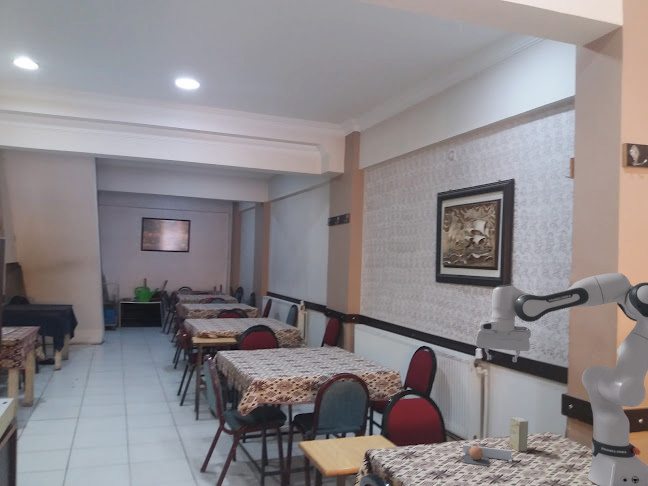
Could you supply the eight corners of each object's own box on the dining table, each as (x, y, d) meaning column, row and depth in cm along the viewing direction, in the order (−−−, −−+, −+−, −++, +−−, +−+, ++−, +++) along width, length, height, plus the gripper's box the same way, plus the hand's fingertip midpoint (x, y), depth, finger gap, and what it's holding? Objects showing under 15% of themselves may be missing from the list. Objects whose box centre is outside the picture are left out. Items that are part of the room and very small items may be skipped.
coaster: (488, 458, 199) (488, 457, 199) (489, 466, 191) (489, 465, 191) (464, 454, 202) (464, 454, 202) (464, 463, 193) (464, 462, 193)
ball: (483, 457, 198) (482, 444, 198) (483, 462, 193) (482, 448, 193) (469, 457, 199) (468, 443, 200) (469, 461, 194) (469, 448, 195)
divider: (510, 457, 200) (510, 448, 201) (511, 462, 196) (511, 453, 196) (462, 451, 205) (462, 442, 205) (462, 456, 200) (462, 446, 200)
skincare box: (508, 446, 213) (509, 416, 214) (517, 445, 215) (518, 416, 215) (518, 452, 207) (519, 421, 208) (528, 451, 209) (528, 420, 209)
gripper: (529, 326, 204) (529, 361, 203) (475, 323, 209) (475, 357, 209) (531, 328, 198) (531, 364, 197) (476, 324, 203) (475, 359, 203)
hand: (501, 360), depth 203 cm, fingers open, 8 cm apart
